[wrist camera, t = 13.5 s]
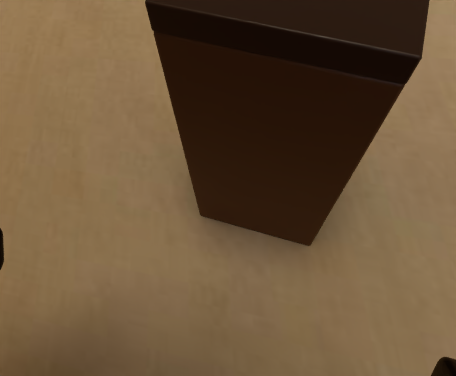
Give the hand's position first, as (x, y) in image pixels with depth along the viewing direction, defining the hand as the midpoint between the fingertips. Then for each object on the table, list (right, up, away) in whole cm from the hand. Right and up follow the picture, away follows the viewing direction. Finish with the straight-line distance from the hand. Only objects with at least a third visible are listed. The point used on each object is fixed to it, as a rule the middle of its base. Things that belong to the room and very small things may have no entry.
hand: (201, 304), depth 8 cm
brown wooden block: (+3, +3, +12) cm, 13 cm away
